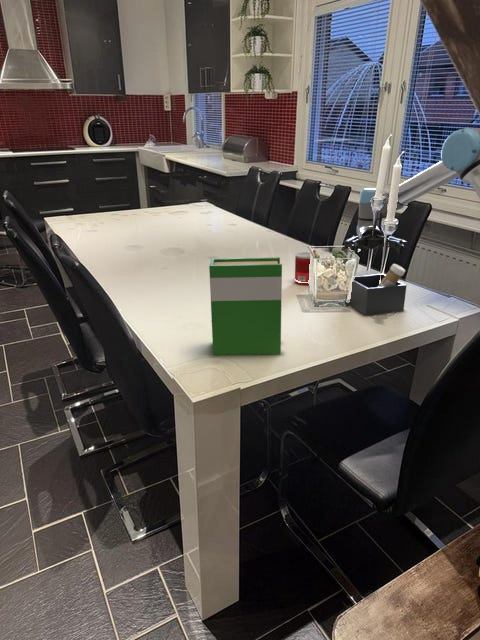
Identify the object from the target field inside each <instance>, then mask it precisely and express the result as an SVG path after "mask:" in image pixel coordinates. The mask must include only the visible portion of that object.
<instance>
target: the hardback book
mask: <svg viewBox="0 0 480 640" xmlns="http://www.w3.org/2000/svg"><path fill="white" fill-rule="evenodd" d="M208 271H209V290H210V291H209V292H210V313H211V314H210V315H211V317H210V318H211V338H212V340H211V341H212V355H213V356H240V355H241V356H242V355H243V356H244V355H245V356H246V355H247V356H249V355H251V356H252V355H281V353H282V349H281V347H282V296H283V295H282V294H283V293H282V291H283V285H282V284H283V264H282V263H281V257H279V256H278V257H277V256H275V257H272V256H271V257H221V258H220V257H219V258H217V257H216V258H214V257H213V258H210V261H209V265H208Z"/></svg>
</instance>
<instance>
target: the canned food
mask: <svg viewBox="0 0 480 640" xmlns="http://www.w3.org/2000/svg"><path fill="white" fill-rule="evenodd" d="M310 253H311V252H305V251H304V252H298V253H296V254H295V256H294V257H295V259H294V282H295V284H297V285H299V286H300V285H301V286H309V285H308V283H298V282H296V281H295V279H296V280H298V281H301V282H308V280H309V264H310Z"/></svg>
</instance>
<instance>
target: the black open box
mask: <svg viewBox="0 0 480 640" xmlns="http://www.w3.org/2000/svg"><path fill="white" fill-rule="evenodd" d="M380 275H381V281H382V280H383V278H384V277H385V276H386V274H385V273H376V274H375V273H374V274H365V275H357V276H354V277H355V279H354V280H353V282H352V292H351V299H350V302H349V303H347V305H349V306H350V307H352V308H353V309H355V310H356V311H358V312H359V313H361V314H362V315H363V316H366V317H368V316H374V315H383V314H391V313H400V312H404V311H405V309H404V308H405V302H406V301H405V300H406V292H407V287H408V286H407V284H406V283H404V282H402V281H400V280H398V282H397V283H396V285H394V286H384V287H378V286H379V280H380Z"/></svg>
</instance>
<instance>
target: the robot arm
mask: <svg viewBox="0 0 480 640" xmlns="http://www.w3.org/2000/svg"><path fill="white" fill-rule="evenodd" d="M440 159H441V161H439V162H437V163H436V164H435V163H434V165H432V166H430V167H428V168H427V169H424V170H423V171H421V172H419V173H418V174H415V175H414V176H413V177H411V178H409V179H407V180H405V181H404V182H402V183H400V184H399V192H398V202H397V208H396V211H399V210H402V209H403V208H404V207H405V206H406V205H407V204H409V203H411V202H413V201H415V200H416V199H417V200H418V198H420V197H423V196H425V195H426V194H429V193H430V192H433V191H434V190H437V189H438V188H440V187H442V186H444V185H447V184H448V183H450V182H452V181H454V180H455V179H458V178H459V179H460V180H461V182H462V183H464V184H470V186H471V187H472V189H473V190H474V192H475V193H476V195H477V196H478V198H479V199H480V127H479V128H477V127H476V128H475V127H473V128H472V127H464V128H461V129H458V130H455V131H453V132H452V133H451V134H449V135H448V136H447V138H445V140H444V142H443V144H442V146H441V151H440ZM376 188H377V187H366V188H362V189H361V190H360V193H359V200H358V201H359V204H358V218H357V226H356V231H355V232H356V235H352V237H350V238H347V239H346V240H344V245H343V249H344V250H345V249H346V250H347V249H349V250H350V249H351V250H353V252H354V255H359V248H361V247H362V248H365V249H368V250H375V249H377V248H385V247H384V238H385V237H386V236H384V235H383V233H382V231H381V229H379V225H380V214H383V213H388V212H387V204H388V198H389V192H390V190H388V191H382V192H383V195H384V196H385V197H386V200H385V205H384V208H383V209H382V210H381V212H380V213H379V215H378V218H377V225H376V228H375V231H374V234H373V236H372V231H373V212H372V207H371V202H370V200H371V198H372V197H373V196H374V195H375V192H376ZM396 211H395V212H396ZM387 239H388V242H389V246H388V247H387V248H390V249H394V250H395V251H396V252H397V254H398V255H400V256H402V255H403V251H404V250H407V249H408V243H409V241H407V240H404V239H401V238H397V237H394V236H392V235H390V236H389V237H388V238H387ZM371 245H372V249H371ZM348 247H349V248H348Z"/></svg>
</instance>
